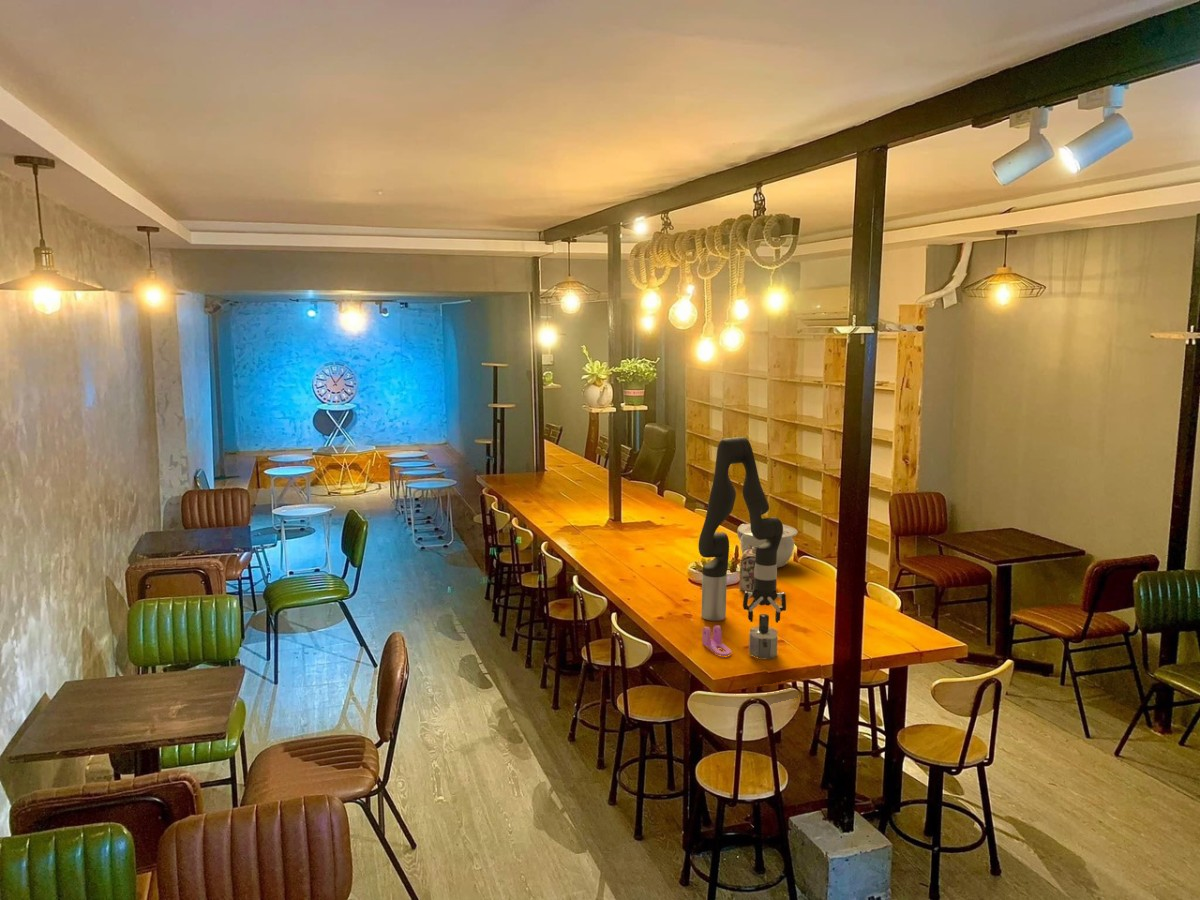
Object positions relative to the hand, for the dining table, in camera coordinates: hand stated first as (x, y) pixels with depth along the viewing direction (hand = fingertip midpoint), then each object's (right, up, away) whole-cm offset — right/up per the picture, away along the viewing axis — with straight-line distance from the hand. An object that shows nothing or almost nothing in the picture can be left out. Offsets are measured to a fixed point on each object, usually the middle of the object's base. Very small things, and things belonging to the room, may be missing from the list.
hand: (763, 621), depth 283 cm
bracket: (-15, -11, +5) cm, 19 cm away
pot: (0, -12, +2) cm, 12 cm away
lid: (0, -5, +1) cm, 5 cm away
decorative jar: (+11, -1, +69) cm, 70 cm away
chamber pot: (+22, +5, +103) cm, 105 cm away
